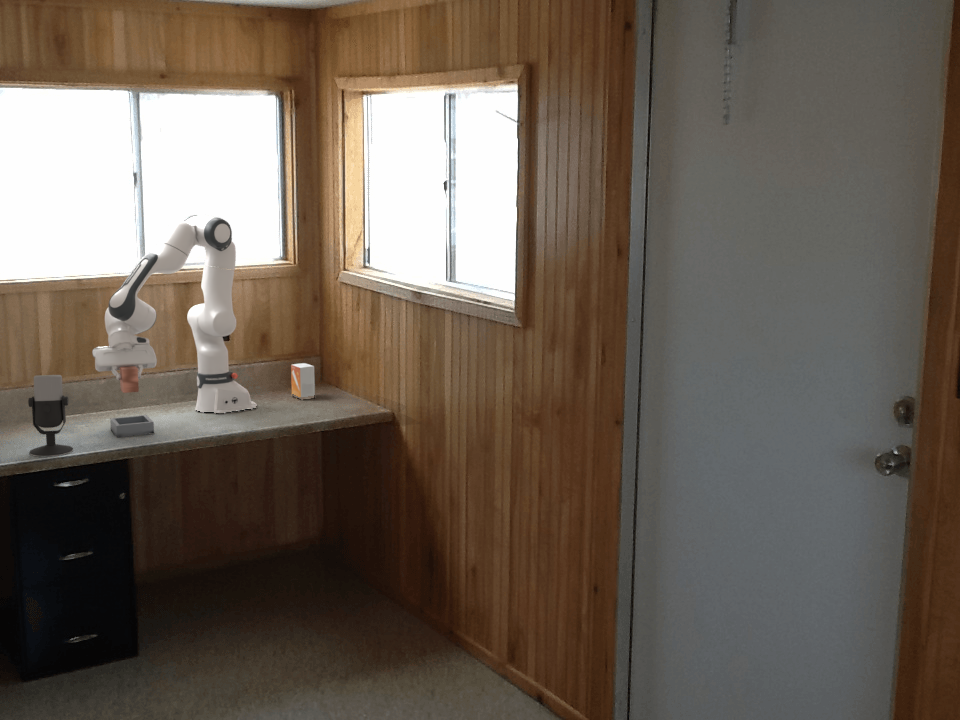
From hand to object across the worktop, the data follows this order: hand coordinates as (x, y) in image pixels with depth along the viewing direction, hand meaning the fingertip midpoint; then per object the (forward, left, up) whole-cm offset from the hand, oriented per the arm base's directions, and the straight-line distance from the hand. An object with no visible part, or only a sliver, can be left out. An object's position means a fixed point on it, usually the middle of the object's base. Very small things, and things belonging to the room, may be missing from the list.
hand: (129, 378), depth 386 cm
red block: (0, 0, -4) cm, 4 cm away
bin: (0, 0, -19) cm, 19 cm away
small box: (-70, -27, -19) cm, 77 cm away
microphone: (+28, +16, -19) cm, 37 cm away
